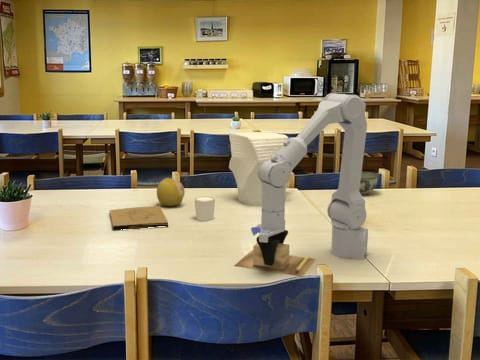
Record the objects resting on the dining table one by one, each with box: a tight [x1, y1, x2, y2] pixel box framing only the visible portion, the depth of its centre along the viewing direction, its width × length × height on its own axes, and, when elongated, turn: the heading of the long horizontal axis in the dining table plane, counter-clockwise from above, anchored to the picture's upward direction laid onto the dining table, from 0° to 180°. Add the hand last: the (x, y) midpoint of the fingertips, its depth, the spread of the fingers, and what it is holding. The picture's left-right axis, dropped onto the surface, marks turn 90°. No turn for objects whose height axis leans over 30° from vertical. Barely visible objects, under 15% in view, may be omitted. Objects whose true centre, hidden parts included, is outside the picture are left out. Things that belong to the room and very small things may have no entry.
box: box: [108, 205, 169, 232], centre depth 183 cm, size 21×18×2 cm
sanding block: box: [252, 242, 290, 271], centre depth 138 cm, size 8×4×6 cm, turn 68°
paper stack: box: [228, 131, 290, 206], centre depth 206 cm, size 21×27×26 cm
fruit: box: [156, 177, 185, 207], centre depth 201 cm, size 10×11×10 cm
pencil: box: [295, 255, 311, 273], centre depth 139 cm, size 11×1×1 cm, turn 158°
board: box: [233, 249, 317, 277], centre depth 142 cm, size 18×13×1 cm
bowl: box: [359, 170, 380, 196], centre depth 221 cm, size 14×13×8 cm
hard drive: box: [250, 226, 261, 237], centre depth 167 cm, size 2×8×12 cm
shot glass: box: [194, 196, 216, 222], centre depth 184 cm, size 7×7×7 cm
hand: (272, 261), depth 138 cm, fingers closed on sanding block, 4 cm apart
